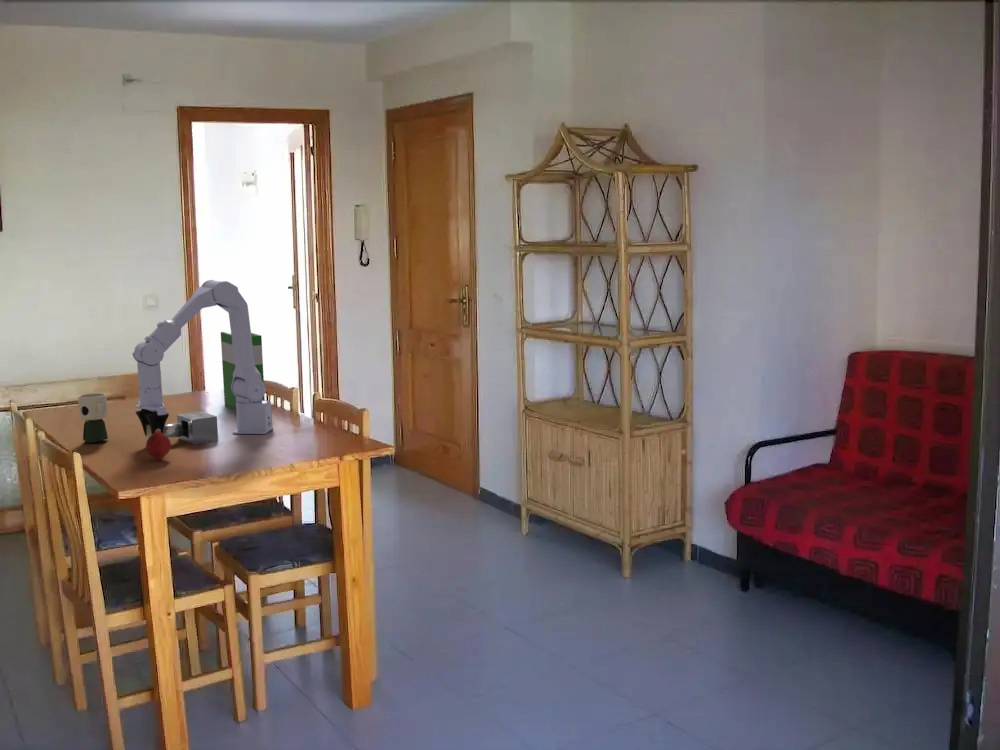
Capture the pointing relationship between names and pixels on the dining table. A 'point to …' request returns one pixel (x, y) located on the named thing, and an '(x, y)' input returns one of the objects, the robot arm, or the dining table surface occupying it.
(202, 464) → the dining table surface
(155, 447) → the onion
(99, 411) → the character mug
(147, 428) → the end cover
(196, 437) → the housing
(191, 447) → the dining table surface
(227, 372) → the hardback book
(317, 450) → the dining table surface
